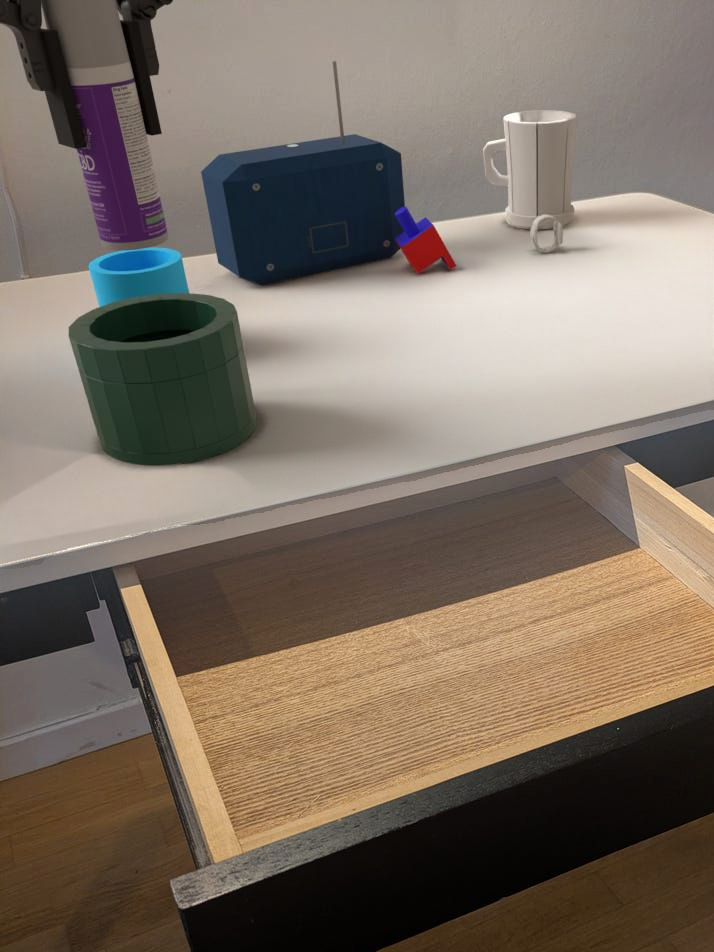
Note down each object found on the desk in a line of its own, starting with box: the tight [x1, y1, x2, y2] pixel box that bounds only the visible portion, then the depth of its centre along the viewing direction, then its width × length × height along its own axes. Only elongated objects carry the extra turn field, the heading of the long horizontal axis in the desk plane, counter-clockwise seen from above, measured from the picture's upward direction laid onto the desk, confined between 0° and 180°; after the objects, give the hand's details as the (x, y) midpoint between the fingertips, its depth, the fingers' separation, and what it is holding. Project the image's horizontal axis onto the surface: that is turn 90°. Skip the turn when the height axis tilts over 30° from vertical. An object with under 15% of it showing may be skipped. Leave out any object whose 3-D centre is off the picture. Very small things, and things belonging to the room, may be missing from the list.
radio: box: [200, 60, 406, 286], centre depth 107 cm, size 21×9×20 cm, turn 123°
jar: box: [68, 292, 258, 467], centre depth 76 cm, size 12×12×9 cm
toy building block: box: [395, 206, 457, 275], centre depth 109 cm, size 4×4×8 cm
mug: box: [88, 247, 190, 308], centre depth 92 cm, size 12×8×8 cm
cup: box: [482, 109, 577, 231], centre depth 121 cm, size 10×9×12 cm
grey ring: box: [529, 215, 564, 254], centre depth 113 cm, size 4×2×4 cm, turn 103°
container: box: [41, 0, 169, 251], centre depth 65 cm, size 5×5×15 cm
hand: (110, 137), depth 66 cm, fingers closed on container, 5 cm apart
